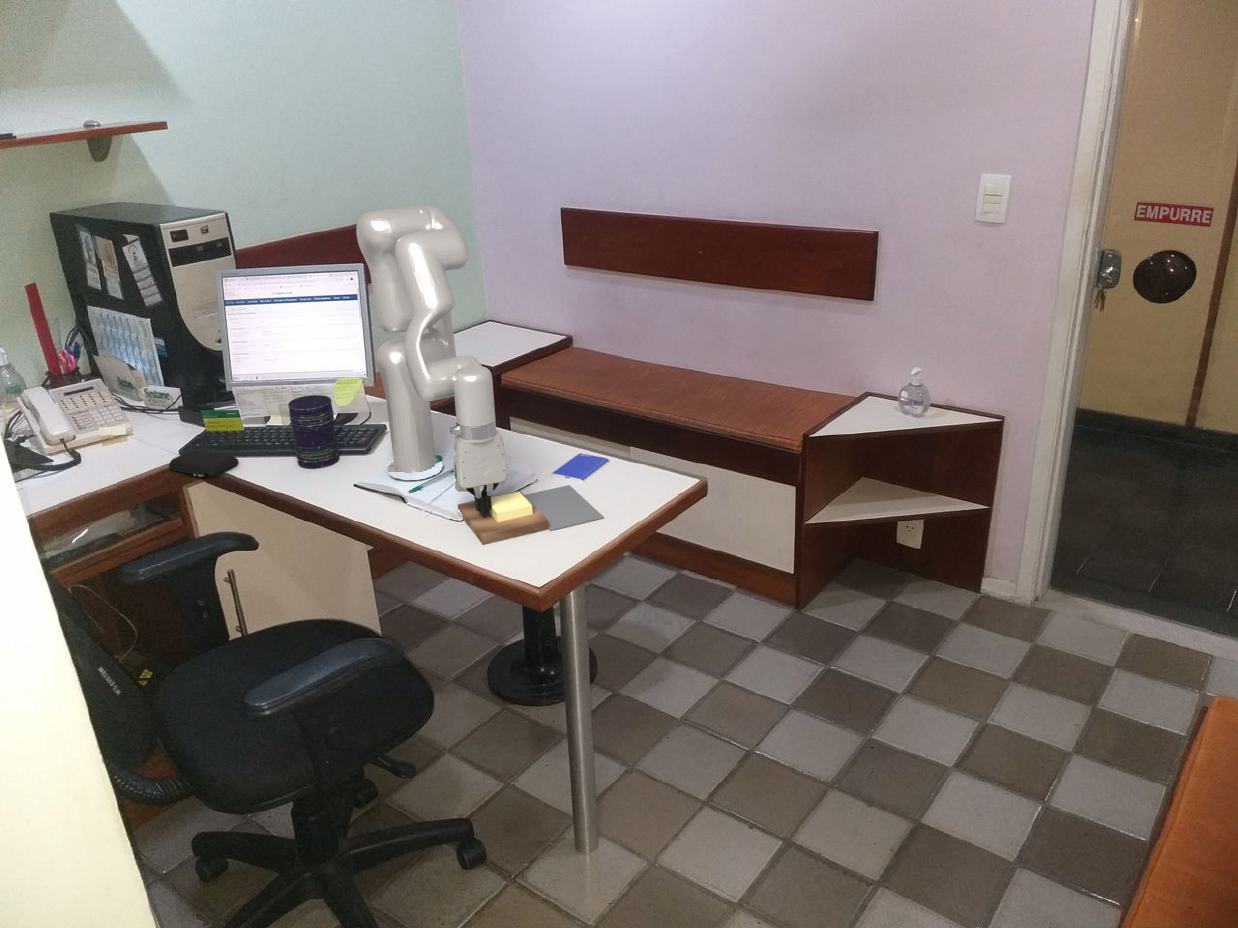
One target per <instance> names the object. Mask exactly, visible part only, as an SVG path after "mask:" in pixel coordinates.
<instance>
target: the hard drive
mask: <svg viewBox="0 0 1238 928" xmlns="http://www.w3.org/2000/svg"><path fill="white" fill-rule="evenodd" d="M609 463H610V459H609V458H608V457H602V456H597V455H591V454H586V453H578V454H576V455H575V456H573V457H572V458H571V459H569V460H567V462H565V463H564V464H562V465H561V466H560V467H558V468H557V469H556V470H555V471H553V472H551V477H554V478H559V479H564V480H569V481H574V482H579V483H582V484H583V483H584V482H586V481H587V480H588V479H590V478H591V477H592V476H594V475H595V474H596V473H597V472H599V471H600V470H602V469H603V468H604V467H605V466H606V465H608V464H609Z"/></svg>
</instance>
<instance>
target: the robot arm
mask: <svg viewBox="0 0 1238 928" xmlns="http://www.w3.org/2000/svg"><path fill="white" fill-rule="evenodd" d="M355 228H356V229H355V230H356V239H357V244H358V247H359V249H360V251H361V253H362V255H363V258H364V260H365V262H366V265H367V266H368V269H369V274H370V280H371V287H372V293H373V300H374V305H375V306H374V307H375V313H376V317H377V321H378V322H377V323H378V324H379V327H380V328H381V330H382V331H384V332H386V333H390V334H396V333H399V334H400V333H405V332H406V333H405V336H403V337H397V338H394V339H390V340H387V341H385V342H384V343H382V344H381V345H380V346H379V347H378V348H377V351H376V364H377V368H378V371H379V374H380V377H381V381H382V385H383V389H384V395H385V403H386V410H387V417H388V418H387V419H388V425H389V427H388V428H389V433H390V434H389V435H390V440H391V441H390V443H391V448H392V449H391V450H392V451H391V452H392V457H393V462H391V463H390V464H389V465H388V467H387V473H388V472H405V473H413V472H423V471H426V470H428V469H431V468H432V467H434V466H435V464H436V458H437V457H436V450H435V449H436V448H435V439H434V432H433V421H432V411H431V403H430V402H433V401H438V400H444V399H447V398H452V397H454V405H455V408H454V409H455V416H456V421H455V425H454V426H453V427H450V429H449V432H450V434H451V435H455V436H454V437H455V438H454V445H453V475H454V479H455V485H454V488H455V490H456V492H459V493H461V492H462V493H463V492H464V493H465V492H468V493H469V494H471V495H473V498H474V501H475V508H476V510H477V511H479V512H480V514H481V515H482V516H484V515H485V514H487V515H488V514H490V508H492V505H491V497H493V495H494V491H495V490H496V488H497V487H498V486H499V485H502V484H504V483H506V482H507V481H508V477H509V471H508V470H509V469H508V468H509V467H508V461H507V455H506V449H505V445H504V441H503V436H502V434H501V432H500V431H498V430H497V424H496V412H495V411H496V410H495V399H494V397H495V396H494V385H493V384H494V383H493V382H494V381H493V374H492V371H490V369H489V368H487V367H486V366H482V364H481V362H480V361H479V360H478V359H477V357H475V356H473V355H468V354H467V355H460V356H457V352H456V343H455V336H454V326H453V318H452V311H453V310H454V308H455V305H456V303H455V302H456V301H455V299H454V295H453V292H452V289H451V287H450V283H449V280H448V276H447V273H446V271H454V270H459V269H461V268H464V267H465V266H466V264H467V262H468V260H469V259H468V258H469V252H468V247H467V244H466V241H465V238H464V236H463V234H462V232H461V231H460V230H459V229H458V227H457V225H455V223H454V222H452V221H451V220H450V219H449V218H448V216H446V214H444V212H442V211H441V209H439V207H436V206H435V205H431V204H418V205H409V206H408V205H407V206H402V207H401V206H400V207H399V206H398V207H390V208H381V209H378V210H377V209H375V210H371V211H369V212H366V213H364V214H362V215H361V216H360V217H359V218H358V220H357V222H356V227H355ZM426 330H427V332H426ZM481 487H482V490H481Z"/></svg>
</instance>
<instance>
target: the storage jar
mask: <svg viewBox="0 0 1238 928" xmlns="http://www.w3.org/2000/svg"><path fill="white" fill-rule="evenodd" d="M287 404H288V405H287V406H288V411H289V421H290V426H291V428H292V430H293V435H294V447H295V449H294V450H295V455H296V458H297V464H298V466H299V467H300V468H303V469H305V470H306V469H307V470H317V469H318V470H319V469H324V468H328V467H332V466H334V465H336V464H337V463H338V462H339V461H340V459H341V458H340V454H339V453H340V451H339V450H340V448H339V443H338V438H337V436H336V432H335V431H336V430H335V424H334V423H335V416H334V408H333V405H332V398H331V397H330V396H327V395H322V394H313V395H310V394H309V395H303V396H301V397H297V398H293V399H292V400H290V401H289V402H288V403H287Z"/></svg>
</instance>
